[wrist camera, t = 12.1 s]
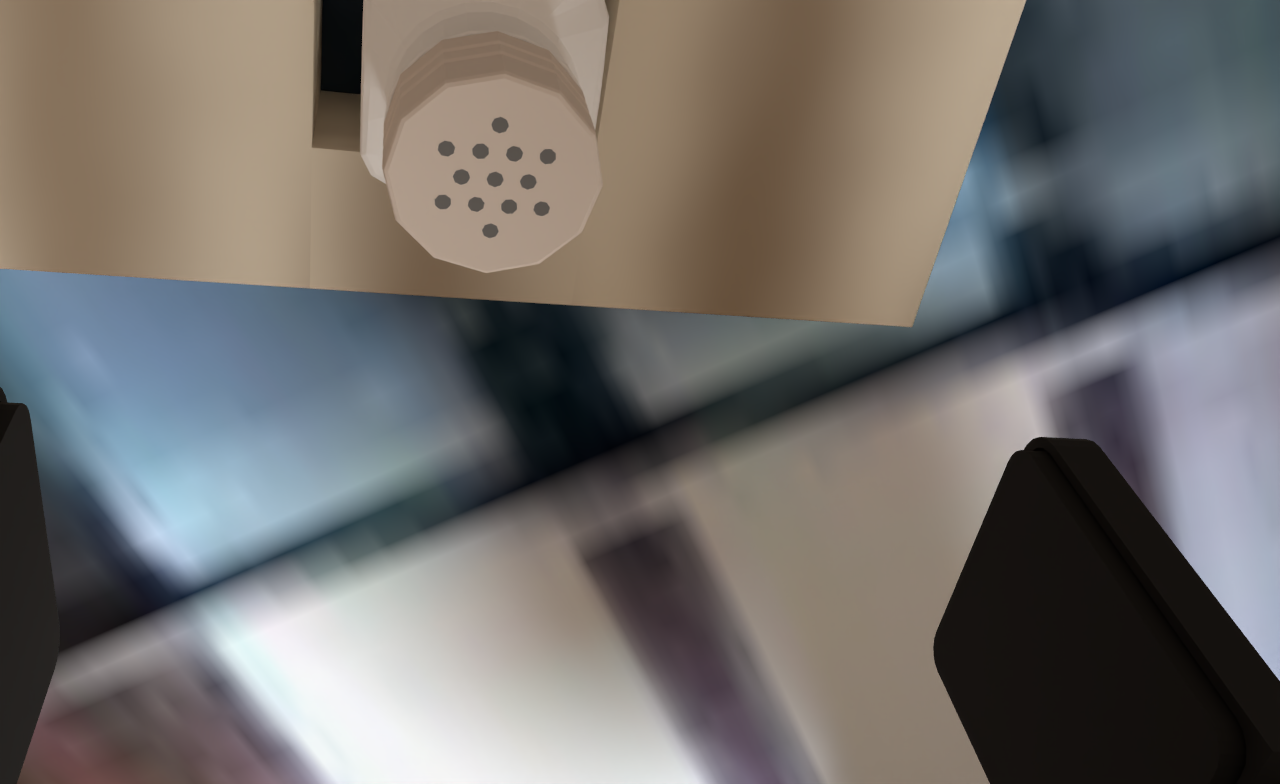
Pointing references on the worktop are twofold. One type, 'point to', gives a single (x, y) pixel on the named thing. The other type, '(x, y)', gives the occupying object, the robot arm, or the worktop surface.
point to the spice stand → (626, 137)
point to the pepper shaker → (484, 122)
